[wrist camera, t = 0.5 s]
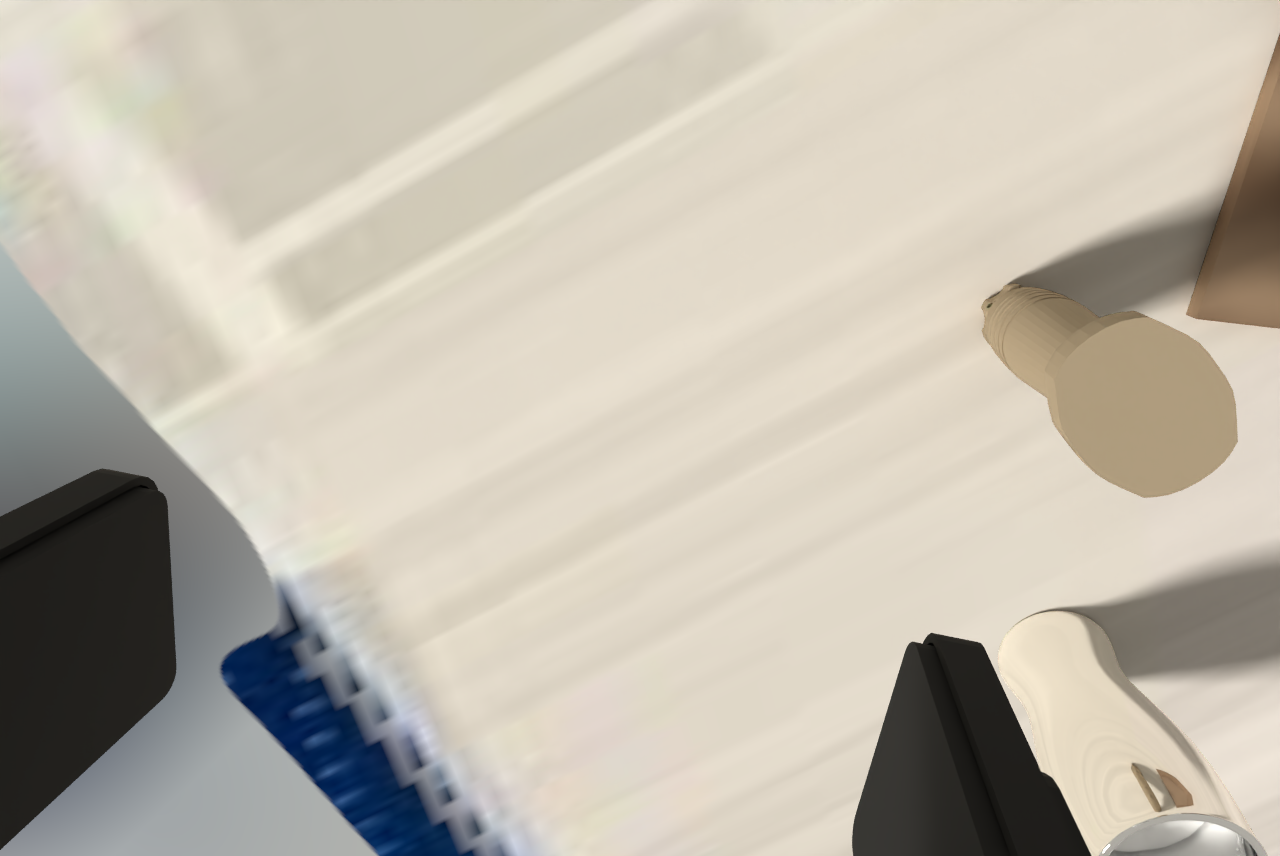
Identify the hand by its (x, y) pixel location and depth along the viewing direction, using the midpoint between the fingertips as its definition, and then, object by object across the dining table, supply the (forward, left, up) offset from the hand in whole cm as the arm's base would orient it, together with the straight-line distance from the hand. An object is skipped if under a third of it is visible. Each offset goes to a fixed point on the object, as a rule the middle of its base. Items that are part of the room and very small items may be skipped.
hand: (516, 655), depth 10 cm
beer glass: (+20, +23, -34) cm, 46 cm away
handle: (+1, +16, -34) cm, 38 cm away
